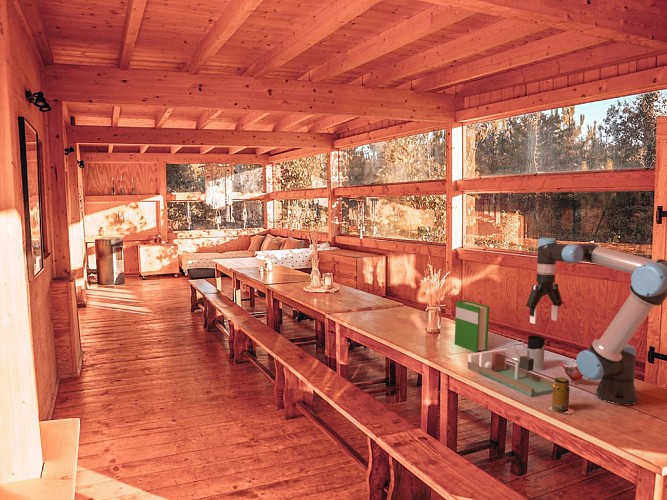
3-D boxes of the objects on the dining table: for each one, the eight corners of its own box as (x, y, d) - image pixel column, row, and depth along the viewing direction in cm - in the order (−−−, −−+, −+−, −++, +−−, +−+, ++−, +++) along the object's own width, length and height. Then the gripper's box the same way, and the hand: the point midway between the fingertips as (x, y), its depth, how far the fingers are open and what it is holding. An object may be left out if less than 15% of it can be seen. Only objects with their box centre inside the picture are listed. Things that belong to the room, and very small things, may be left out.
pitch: (558, 391, 233) (559, 368, 232) (531, 396, 227) (532, 373, 226) (492, 364, 269) (493, 344, 268) (467, 368, 262) (468, 348, 261)
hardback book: (487, 351, 293) (489, 306, 291) (476, 352, 290) (478, 307, 288) (464, 342, 309) (466, 300, 307) (454, 344, 306) (456, 301, 303)
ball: (488, 367, 264) (494, 371, 260) (482, 368, 262) (487, 372, 258) (490, 359, 262) (496, 364, 259) (484, 360, 260) (489, 365, 257)
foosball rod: (535, 382, 239) (536, 358, 238) (524, 384, 236) (525, 360, 235) (501, 368, 257) (502, 346, 256) (491, 370, 255) (492, 347, 253)
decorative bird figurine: (581, 389, 237) (583, 366, 236) (555, 375, 254) (556, 354, 253) (587, 388, 238) (589, 366, 237) (560, 375, 255) (561, 354, 254)
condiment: (554, 404, 219) (556, 375, 218) (576, 410, 213) (578, 380, 212) (547, 409, 214) (549, 379, 213) (569, 415, 208) (571, 384, 207)
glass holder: (545, 371, 260) (547, 340, 259) (514, 369, 263) (516, 338, 262) (542, 366, 269) (544, 336, 267) (512, 363, 272) (513, 333, 270)
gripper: (557, 271, 249) (555, 317, 251) (518, 273, 237) (516, 322, 239) (572, 273, 243) (570, 320, 245) (532, 275, 231) (530, 326, 232)
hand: (543, 321), depth 242 cm, fingers open, 13 cm apart
